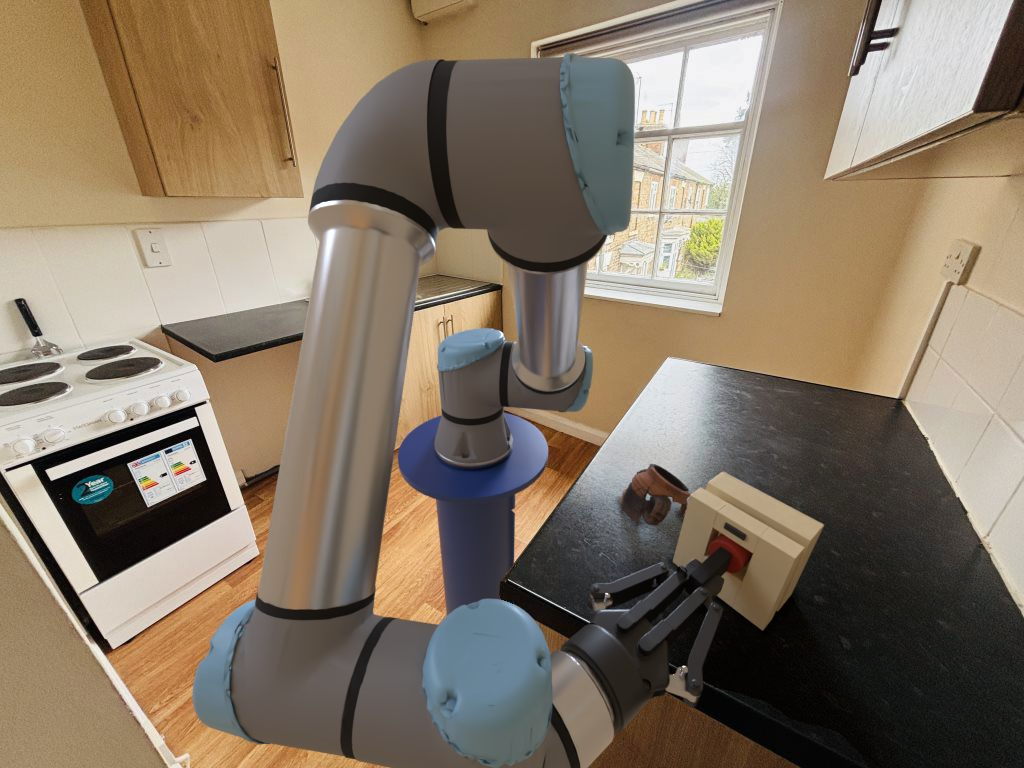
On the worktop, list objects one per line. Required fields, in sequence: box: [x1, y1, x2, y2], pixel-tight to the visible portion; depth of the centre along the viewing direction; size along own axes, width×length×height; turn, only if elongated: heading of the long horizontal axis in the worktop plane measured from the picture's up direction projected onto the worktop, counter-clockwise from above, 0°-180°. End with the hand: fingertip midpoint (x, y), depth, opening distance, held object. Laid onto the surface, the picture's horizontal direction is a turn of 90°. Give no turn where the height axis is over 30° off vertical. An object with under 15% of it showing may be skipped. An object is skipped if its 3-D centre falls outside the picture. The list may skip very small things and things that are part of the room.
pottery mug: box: [619, 463, 691, 526], centre depth 63 cm, size 12×10×8 cm
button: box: [709, 534, 753, 573], centre depth 49 cm, size 4×4×4 cm
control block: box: [672, 471, 825, 631], centre depth 51 cm, size 12×8×12 cm
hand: (723, 558), depth 48 cm, fingers closed
